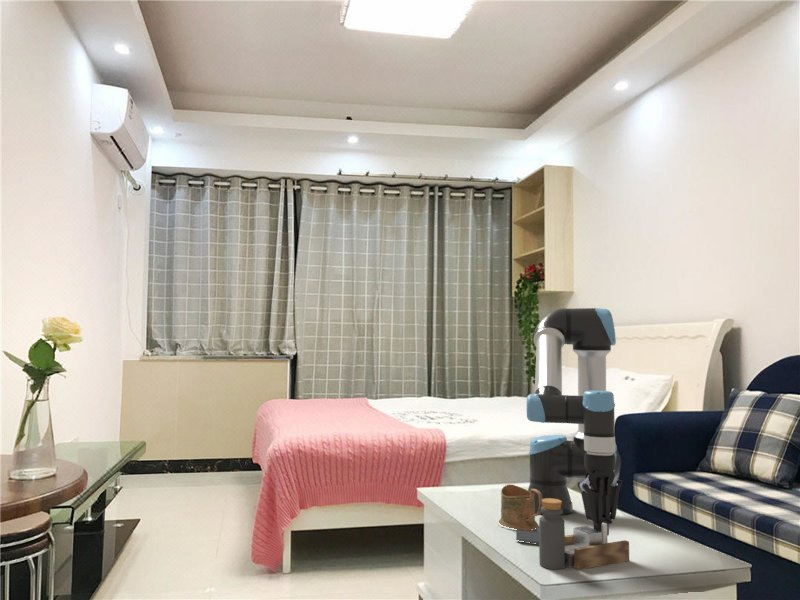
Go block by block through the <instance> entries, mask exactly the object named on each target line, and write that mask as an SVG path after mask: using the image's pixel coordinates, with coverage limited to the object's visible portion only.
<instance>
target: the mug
mask: <svg viewBox="0 0 800 600" xmlns="http://www.w3.org/2000/svg"><path fill="white" fill-rule="evenodd" d="M534 492H536V493H537V494H538V496H539V509H538V512H537V513H535V497H534V496H535V494H534ZM500 495H501V496H500V497H501V501H500V503H501V505H500V506H501V508H500V513H501V514H500V519H499V520H498V521H499V523H500V524H501V525H503V526H506V527H509V528H514V529H522V530H531V529H535V528H537V527H539V523H538V522H537V521H536V517H537V516H540V515H542V514H541V507H543V505H542V499H543V497H542V494H541V493H540V491H538V490H536V489H531V492H529V491H528V489H526V488H524V487H520V486H518V485H515V484H505V485H503V487H502V488H501V491H500ZM537 529H538V528H537ZM535 530H536V529H535ZM531 531H532V530H531Z"/></svg>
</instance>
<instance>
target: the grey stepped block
mask: <svg viewBox="0 0 800 600" xmlns="http://www.w3.org/2000/svg"><path fill="white" fill-rule="evenodd" d="M573 534H574V544H573V545H567V546H565V566H566V567H568V568H574V548H579V547H585V546H592V545H598V544H602V532H600V531H598V530H595V529H594V528H593V527H590V526H587V525H586V526H585V525H584V526H577V527H573Z"/></svg>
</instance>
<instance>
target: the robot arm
mask: <svg viewBox="0 0 800 600" xmlns="http://www.w3.org/2000/svg"><path fill="white" fill-rule="evenodd" d="M616 343H617V340H616V329H615V324H614V319H613V313H611V310H609V309H607V308H600V307H599V308H598V307H597V308H596V307H594V308H592V307H591V308H590V307H589V308H588V307H587V308H586V307H585V308H583V307H582V308H581V307H579V308H565V307H564V308H558V309H555V310H553V311H551V312H549V313H547V314H546V315H545V316H543V317H542V319H541V320H539V322H538V324H537V326H535V329H534V332H533V344H534V346H535V347H536V350H535V351H536V352H535V378H534V393H530V394H528V395H527V396H526V418H527V420H528V422H529V421H530V422H533V423H535V422H536V423H543V424H544V423H545V424H546V423H547V424H549V423H550V424H551V423H552V424H573V425H578V427H577V428H578V429H577V431H576V432H575V433H574V434H573V440H568V438H567V436H566V435H563V434H552V435H542V436H537V437H534V438H533V439H531V440H530V442H529V452H528V455H529V484H528V489H527V490H528V491H529V492H531V489H536V490H538V491H540V493H541V494H542V497H543V499H546V498H552V499H558V500H561V501H562V504H561V508H562V509H563V513H562V514H560V516H566V515H570V514H572V513H573V511H574V508H573V505H574V504H573V502H572V499H571V496H570V493H569V489H568V485H567V483H568V481H567V480H568V479H567V478H569V479H570V478H571V479H583V481H578V482H577V488H578V489H579V491H580V495H581V499H582V503H583V507H584V509H583V510H584V514H585V517H586V520H588V521H589V522H592V523H593V529H595V530H598V531H600V532H602V544H605V543H609V542H608V541H609V540H608V536H609V535H610V530H609V529H610V527H609V526H610V525H612V523H613V521H614V520H615V519H616V516H617V511H618V509H617V508H618V504H619V499H620V498H619V497H620V491H621V488H622V485H623V482H624V481H623V480H622V479H618V478H617V477H616V473H615V470H616V469H617V468H616V467H617V465H616V464H617V463H616V462H617V451H618V449H617V447H618V446H617V444H616V434H615V431H616V430H615V429H616V428H615V426H616V425H615V420H616V419H615V408H616V407H615V406H616V403H615V395H614V393H613V392H612V391H609V390H607V355H608V354H609V353H611V350H612V346H615V345H616ZM564 345H572V351H573V352H574V353H575V354H576V355H577V395H568V394H566V395H564V394H563V370H562V369H563V368H562V367H563V363H562V359H563V358H562V350H563V349H562V348H563V347H564ZM534 494H535V496H534V497H535V514H537V512H538V509H539V496H538V494H537V493H536V492H534ZM540 515H543V513H542V512H541V514H540Z"/></svg>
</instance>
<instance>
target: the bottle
mask: <svg viewBox="0 0 800 600" xmlns="http://www.w3.org/2000/svg"><path fill="white" fill-rule="evenodd" d="M561 504H562V501H561V500H558V499H552V498H546V499H542V505H543V507H541V512H542V513H543V514H542V516H541V517H540V518H539V520H538V521H539V523H538V527H539V545H538V547H539V552H538V553H539V565H540V566H541V567H542V568H545V569H550V570H561V569H564V568H565V566H566V565H565V536H566V534H565V533H566V532H565V519H564V518H563V517H561V515H560V514H562V513H563V509H562V508H561Z"/></svg>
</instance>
